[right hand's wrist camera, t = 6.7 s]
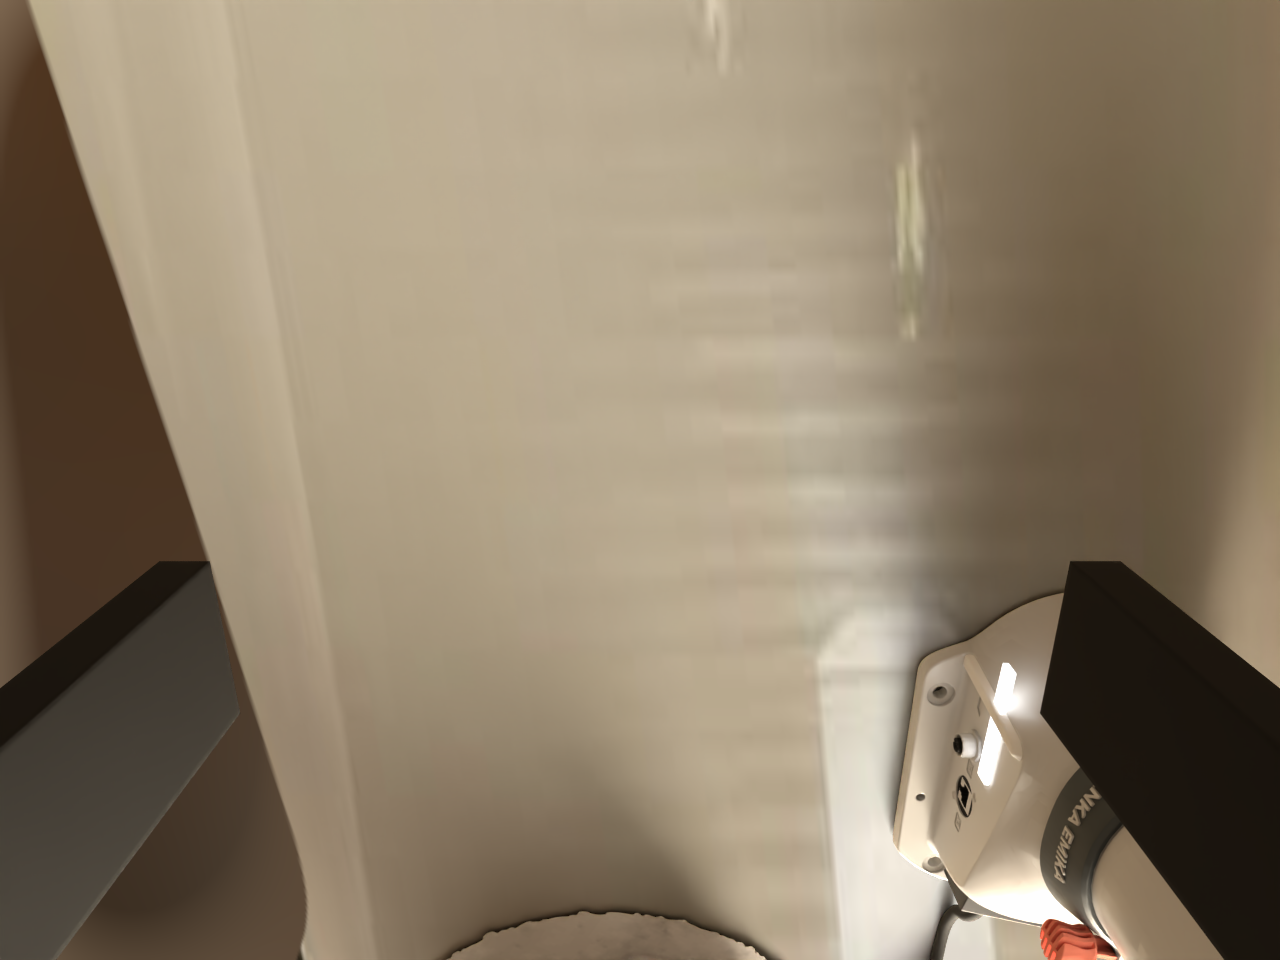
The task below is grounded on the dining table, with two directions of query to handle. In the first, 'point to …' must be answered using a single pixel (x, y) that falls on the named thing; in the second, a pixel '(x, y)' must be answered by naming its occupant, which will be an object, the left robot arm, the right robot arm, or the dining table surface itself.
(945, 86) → the dining table surface
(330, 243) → the dining table surface
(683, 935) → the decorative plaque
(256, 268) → the dining table surface
